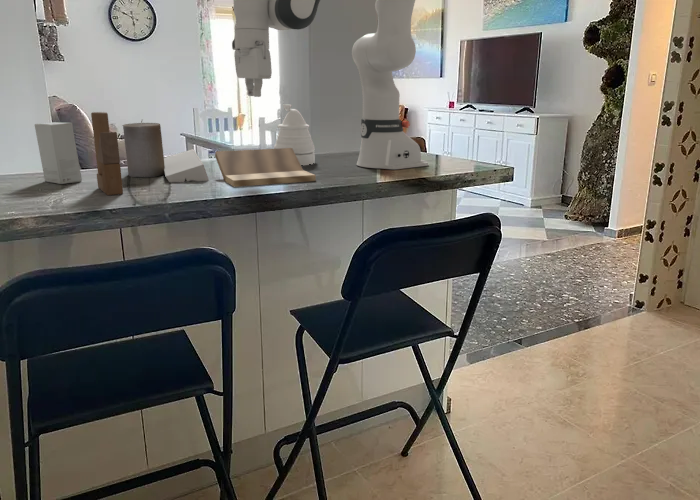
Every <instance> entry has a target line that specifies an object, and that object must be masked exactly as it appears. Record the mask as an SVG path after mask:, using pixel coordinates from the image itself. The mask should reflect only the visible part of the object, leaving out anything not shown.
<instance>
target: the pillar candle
mask: <svg viewBox="0 0 700 500" xmlns="http://www.w3.org/2000/svg"><path fill="white" fill-rule="evenodd" d="M121 127H122V128H123V129H122V130H123V137H124V138H123V139H124V147H125V157H126V158H125V159H126V165H127V166H126V167H127V174H128V176H129V177H130V178H154V177H160V176H163V175H165V171H164V169H165V165H164V158H165V156H164V147H163V136H162V127H161V123H158V122H143V120H141V122H133V123H131V122H130V123H124V124H122V125H121Z"/></svg>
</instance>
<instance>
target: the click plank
mask: <svg viewBox="0 0 700 500" xmlns="http://www.w3.org/2000/svg"><path fill="white" fill-rule="evenodd" d="M214 157H215V160H216V162H217V164H218V167H219V171H220V172H221V176H222V179H223V181H226V180H225V176H227V175H242V174H258V173H273V172H289V171H304V169H303V166H301V165H300V163H299V161H298V159H297V157H296V155H295V153H294V151H293V149H292V148H280V149H274V148H264V149H261V148H259V149H241V150H220V151H218V150H217V151H215V154H214Z"/></svg>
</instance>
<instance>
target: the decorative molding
mask: <svg viewBox="0 0 700 500" xmlns="http://www.w3.org/2000/svg"><path fill="white" fill-rule="evenodd" d="M164 165H165V169H164V171H165V174H164V175H165V177H166V179H167V181H168V183H179V182H180V183H184V182H185V181H186V182H190V181H195V182H205V181H206V182H207V181H209V176H208V173H207V171H206V168H205V166H204V163H203V161H202V160H201V158H200V157H199V155H198V154H197V152H196V151H195V149H194V148H192V149H188V150H186V151H181V152H179V153H175V154H172V155H170V156H167V157H164Z"/></svg>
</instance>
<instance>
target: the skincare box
mask: <svg viewBox="0 0 700 500" xmlns="http://www.w3.org/2000/svg"><path fill="white" fill-rule="evenodd" d="M34 129H35V134H36V140H37V145H38V150H39V151H38V153H39V156H40V162H41V168H42V172H43V178H44V182H47V183H51V184H52V183H54V184H58V185H65V184H71V183H72V184H73V183H81V182H83V181H82V180H83V178H82V173H81V167H80V161H79V156H78V150H77V145H76V138H75V132H74V127H73V122H57V121H53V122H41V123H35V124H34Z"/></svg>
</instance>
